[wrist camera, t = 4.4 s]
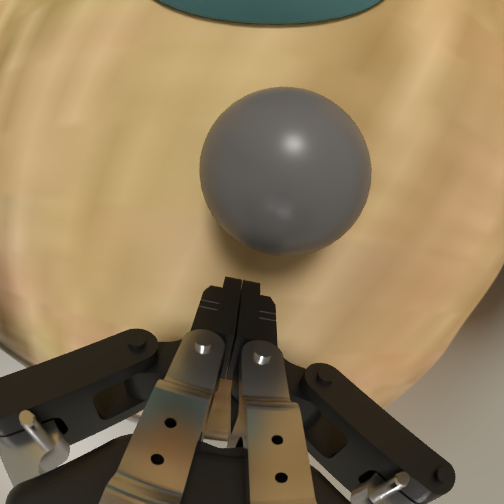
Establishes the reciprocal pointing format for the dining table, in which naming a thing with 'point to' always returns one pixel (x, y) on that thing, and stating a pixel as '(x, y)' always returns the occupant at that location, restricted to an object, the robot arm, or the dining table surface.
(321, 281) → the dining table surface
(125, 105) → the dining table surface
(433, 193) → the dining table surface
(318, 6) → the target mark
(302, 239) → the grey rubber ball
